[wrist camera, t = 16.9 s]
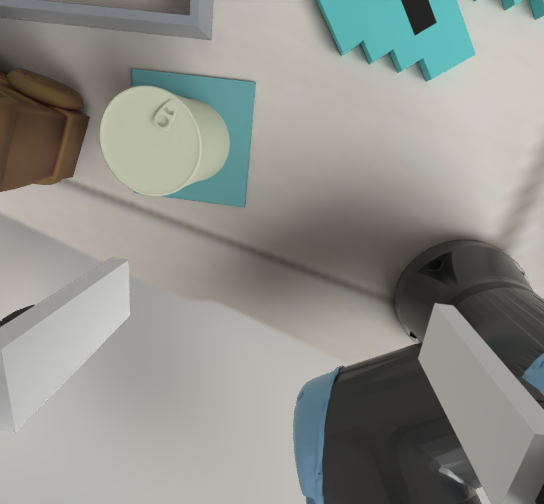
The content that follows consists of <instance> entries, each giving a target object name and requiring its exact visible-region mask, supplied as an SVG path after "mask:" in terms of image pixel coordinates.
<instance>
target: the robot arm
mask: <svg viewBox="0 0 544 504" xmlns="http://www.w3.org/2000/svg"><path fill="white" fill-rule="evenodd" d="M395 309H396V313H397V316H398V318H399V320H400V322H401V324H402V326H403V328H404V330H405V332H406V333H407V334H408V336H409V337H410V338H411V339H412V340H413V341H414V342H415V343H416V344H414V345H411V346H408V347H405V348H402V349H399V350H396V351H393V352H390V353H387V354H384V355H381V356H378V357H375V358H372V359H368V360H365V361H362V362H359V363H356V364H353V365H350V366H347V367H344V366H339V367H337V368H336V369H335V370H334V371H332V372H330V373H327V374H325V375H322V376H320V377H317V378H314V379H312V380H310V381H308V382H307V383H306V384H305V385H304V386H303V387H302V389H301V391H300V393H299V395H298V397H297V402H296V406H295V410H294V420H293V441H294V453H295V461H296V468H297V473H298V478H299V482H300V487H301V490H302V493H303V495H304V496H306V503H307V504H481V502H480V499H479V497H478V495H477V493H476V489H477V488H480V487H483V489H484V491H485V493H486V495H487V497H488V499H489V501H490V503H491V504H544V299H543V298H541V297H540V296H538V295H537V294H535V293H534V291H533V290H532V288H531V286H530V284H529V281H528V279H527V276H526V275H525V273H524V271H523V269H522V268H521V267H520V266H519V264H518V263H517V262H516V261H515V260H514V259H512V258H511V257H510V256H509V255H507V254H505V253H504V252H502V251H501V250H499V249H497V248H495V247H493V246H491V245H489V244H486V243H483V242H479V241H473V240H457V241H450V242H446V243H442V244H439V245H437V246H434V247H432V248H430V249H428V250H426V251H425V252H423V253H422V254H420V255H419V256H418V257H417V258H415V259H414V260H413V261H412V262H411V263H410V264H409V265H408V267H407V268H406V269H405V271H404V272H403V274H402V275H401V277H400V279H399V281H398V284H397V287H396V291H395ZM129 316H130V293H129V260H126V259H119V258H112V257H111V258H110V259H108V260H107V261H105V262H103V263H102V264H100V265H99V266H97V267H96V268H94V269H92V270H91V271H89V272H88V273H86V274H84V275H83V276H81V277H80V278H78V279H76V280H75V281H74V282H72V283H70V284H68V285H67V286H65V287H64V288H62V289H61V290H59V291H57V292H56V293H54V294H53V295H51V296H49V297H48V298H46V299H45V300H43V301H41V302H40V303H38V304H37V305H31V306H28V307H25V308H23V309H20V310H17V311H15V312H13V313H12V314H10V315H8V316H7V317H5V318H3V319H2V321H0V430H4V431H9V432H15V433H16V432H17V431H18V430H19V429H20V428H21V427H22V426H23V425H24V424H25V423H26V422H27V421H28V420H29V419H30V417H31V416H32V415H33V414H34V413H35V412H36V411H37V410H38V409H39V408H40V407H41V406H42V405H43V404H44V403H45V402H46V401H47V400H48V399H49V398H50V397H51V396H52V395H53V394H54V393H55V392H56V391H57V390H58V389H59V388H60V387H61V386H62V385H63V384H64V383H65V382H66V381H67V380H68V378H69V377H71V376H72V374H73V373H74V372H75V371H76V370H77V369H78V368H79V367H80V366H81V365H82V364H83V363H84V362H85V361H86V360H87V359H88V358H89V357H90V356H91V355H92V354H93V353H94V352H95V351H96V350H97V349H98V348H99V347H100V346H101V345H102V344H103V343H104V342H105V341H106V340H107V339H108V337H110V336H111V335H112V334H113V332H114V331H115V330H116V329H117V328H118V327H119V326H120V325H121V324H122V323H123V322H124V321H125V320H126V319H127V318H128V317H129Z"/></svg>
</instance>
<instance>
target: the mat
mask: <svg viewBox="0 0 544 504" xmlns="http://www.w3.org/2000/svg"><path fill="white" fill-rule="evenodd" d="M255 84H256V83H255V82H248V81H239V80H230V79H221V78H212V77H203V76H194V75H185V74H176V73H167V72H158V71H149V70H140V69H132V87H136V86H154V87H158V88H162V89H164V90H166V91H169V92H170V93H173V94H175V95H178V96H181V97H184V98H187V99H196V100H199V101H202V102H204V103H206V104H208V105H210V106H211V107H212V108H214V109H215V110H216V111H217V112H218V113H219V115H220V116H221V117H222V119H223V120H224V122H225V124H226V127H227V129H228V133H229V139H230V147H229V153H228V157H227V159H226V162H225V163H224V165H223V167H222V168H221V169H220V170H219V171H218V172H217V173H216V174H215V175H214V176H212V177H210V178H208V179H206V180H202V181H197V182H194V183H192V184H190V185H187V186H185V187H183V188H182V189H180V190H179V191H177V192H175V193H172V194H169V195H164V196H163V197H170V198H178V199H185V200H193V201H201V202H208V203H216V204H224V205H231V206H239V207H245V198H246V187H247V176H248V164H249V153H250V141H251V130H252V118H253V107H254V95H255ZM134 193H138V192H136V191H134ZM140 194H141V193H140Z"/></svg>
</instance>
